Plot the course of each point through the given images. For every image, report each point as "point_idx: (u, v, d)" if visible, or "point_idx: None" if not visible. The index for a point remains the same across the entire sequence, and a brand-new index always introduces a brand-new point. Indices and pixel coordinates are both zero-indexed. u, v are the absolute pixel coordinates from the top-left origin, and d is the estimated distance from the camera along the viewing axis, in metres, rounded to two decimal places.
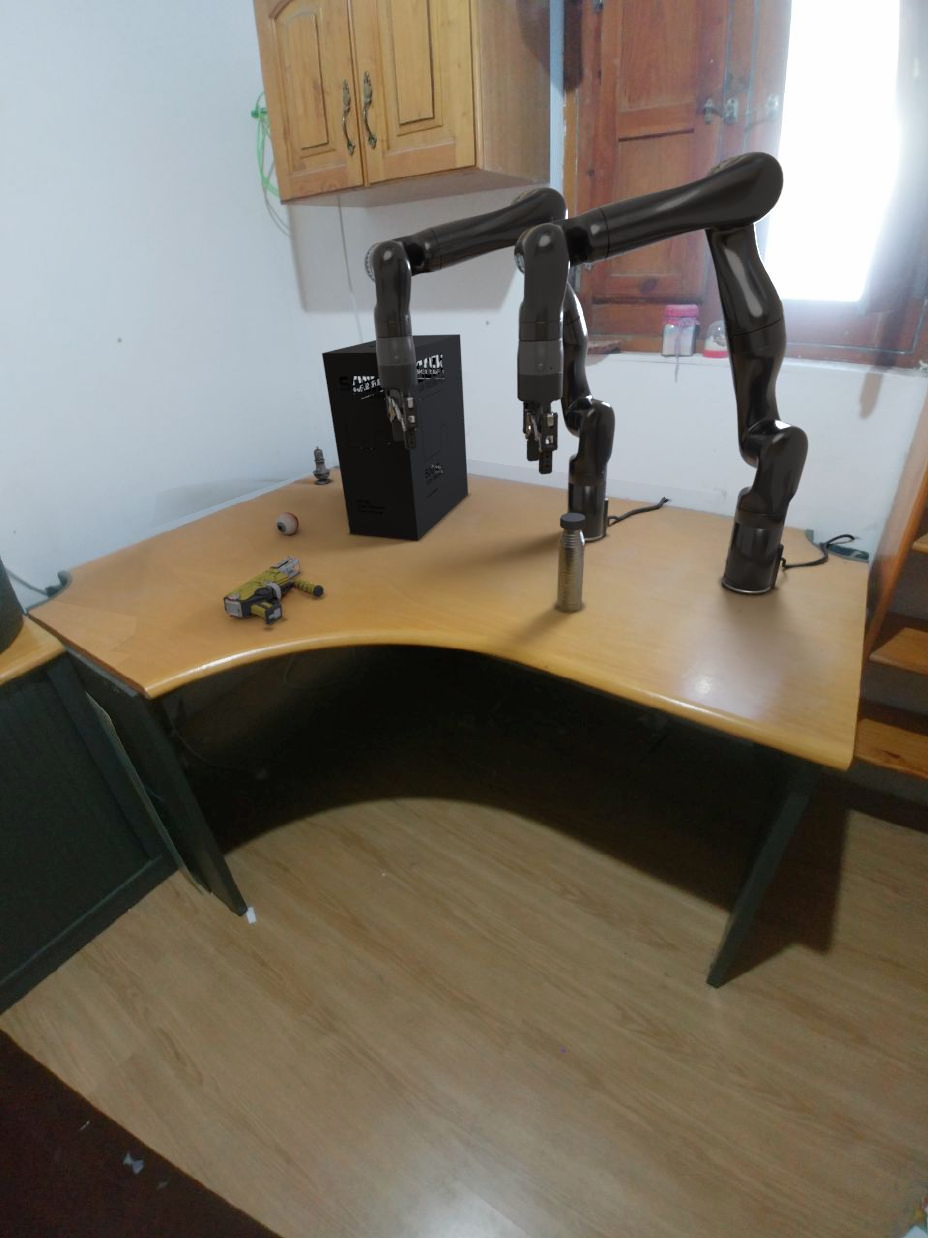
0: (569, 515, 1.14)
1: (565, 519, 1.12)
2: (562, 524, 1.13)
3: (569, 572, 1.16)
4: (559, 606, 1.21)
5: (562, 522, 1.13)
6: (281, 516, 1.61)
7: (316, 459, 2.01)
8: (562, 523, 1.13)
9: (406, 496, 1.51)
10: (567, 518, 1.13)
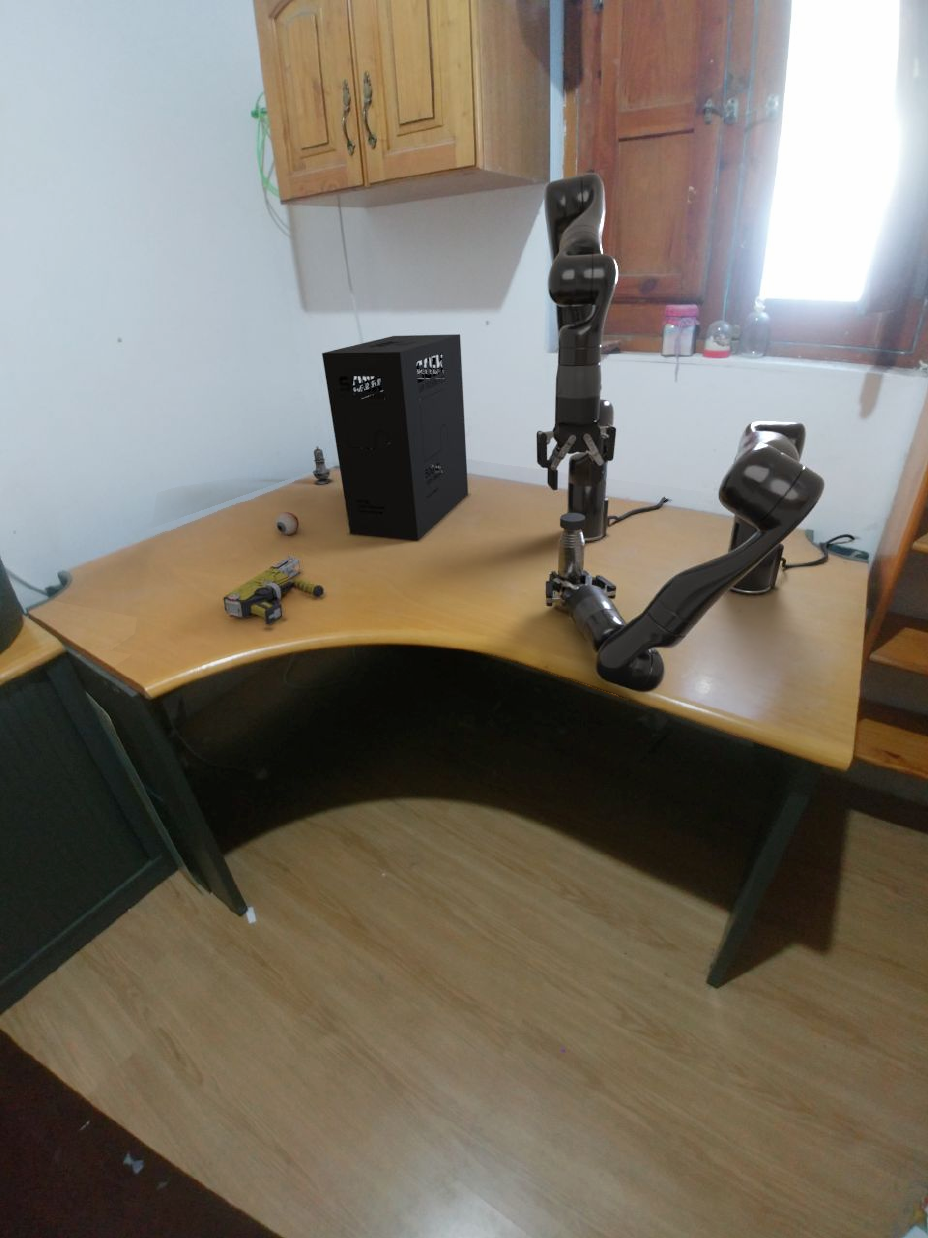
0: (569, 515, 1.14)
1: (565, 519, 1.12)
2: (562, 524, 1.13)
3: (569, 572, 1.16)
4: (559, 606, 1.21)
5: (562, 522, 1.13)
6: (281, 516, 1.61)
7: (316, 459, 2.01)
8: (562, 523, 1.13)
9: (406, 496, 1.51)
10: (567, 518, 1.13)
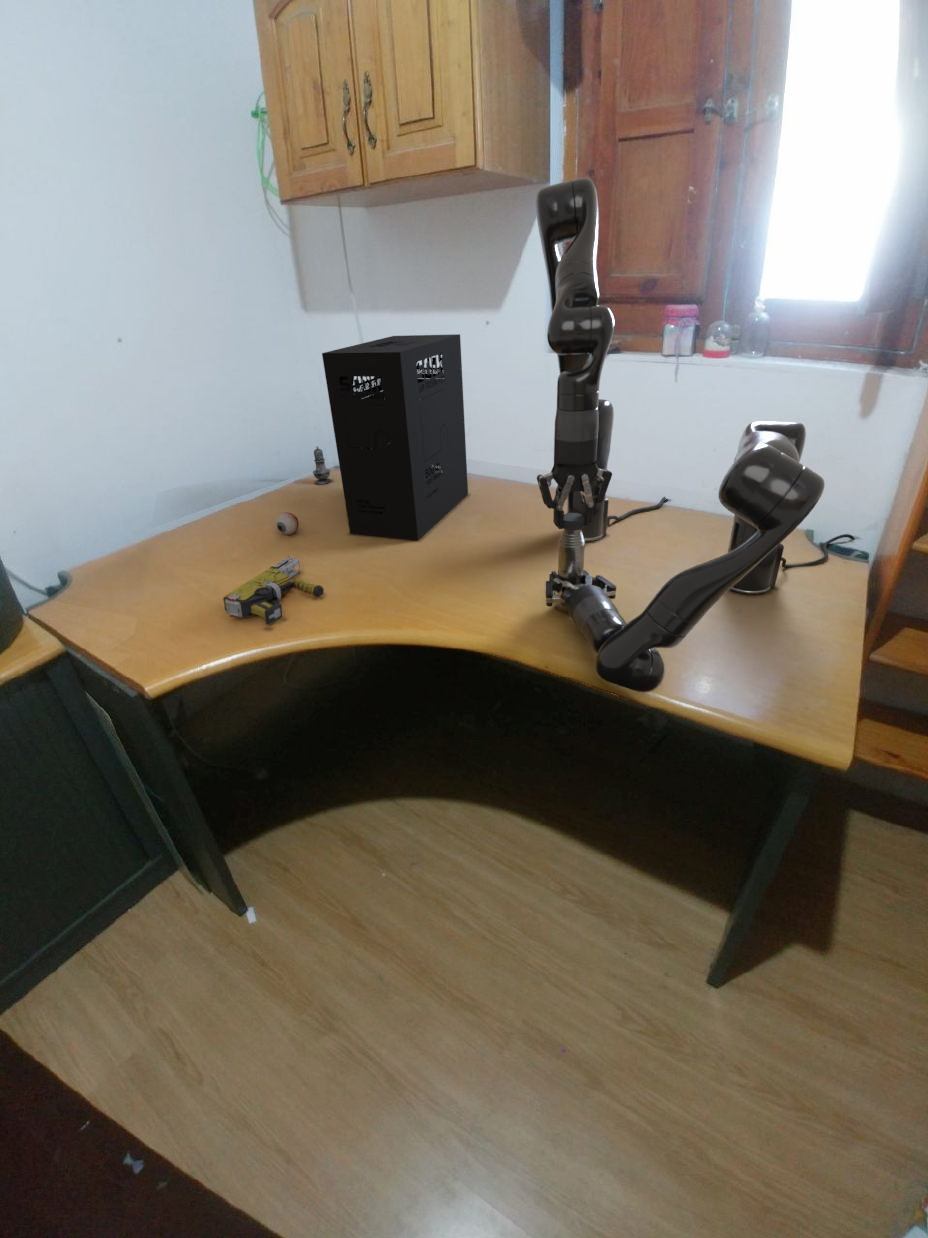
0: (569, 515, 1.14)
1: (565, 519, 1.12)
2: None
3: (569, 572, 1.16)
4: (559, 606, 1.21)
5: None
6: (281, 516, 1.61)
7: (316, 459, 2.01)
8: None
9: (406, 496, 1.51)
10: (567, 518, 1.13)
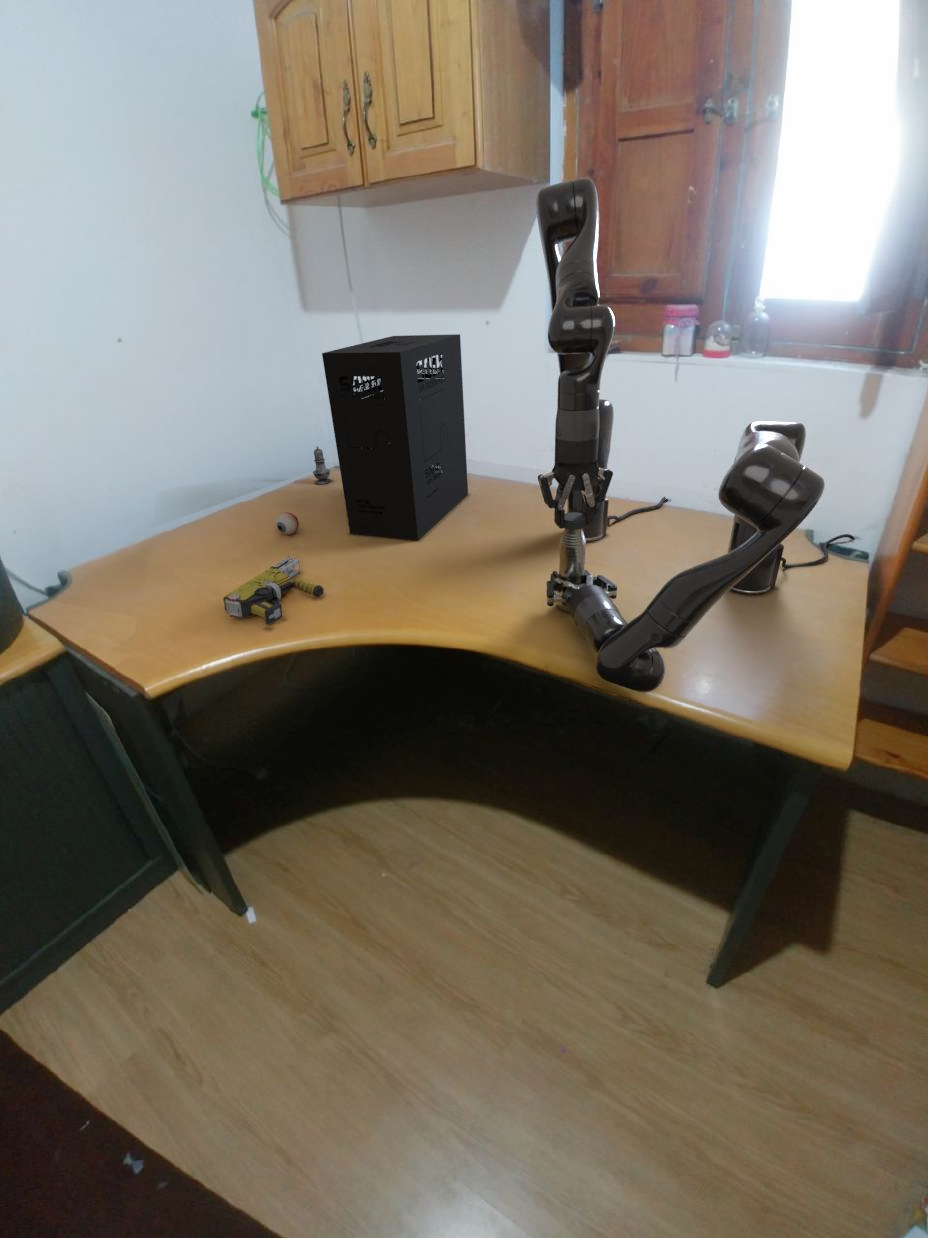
0: (569, 518, 1.13)
1: (581, 518, 1.12)
2: (582, 524, 1.12)
3: (570, 572, 1.16)
4: (560, 606, 1.21)
5: (582, 522, 1.12)
6: (281, 516, 1.61)
7: (316, 459, 2.01)
8: (582, 523, 1.12)
9: (406, 496, 1.51)
10: (578, 518, 1.12)
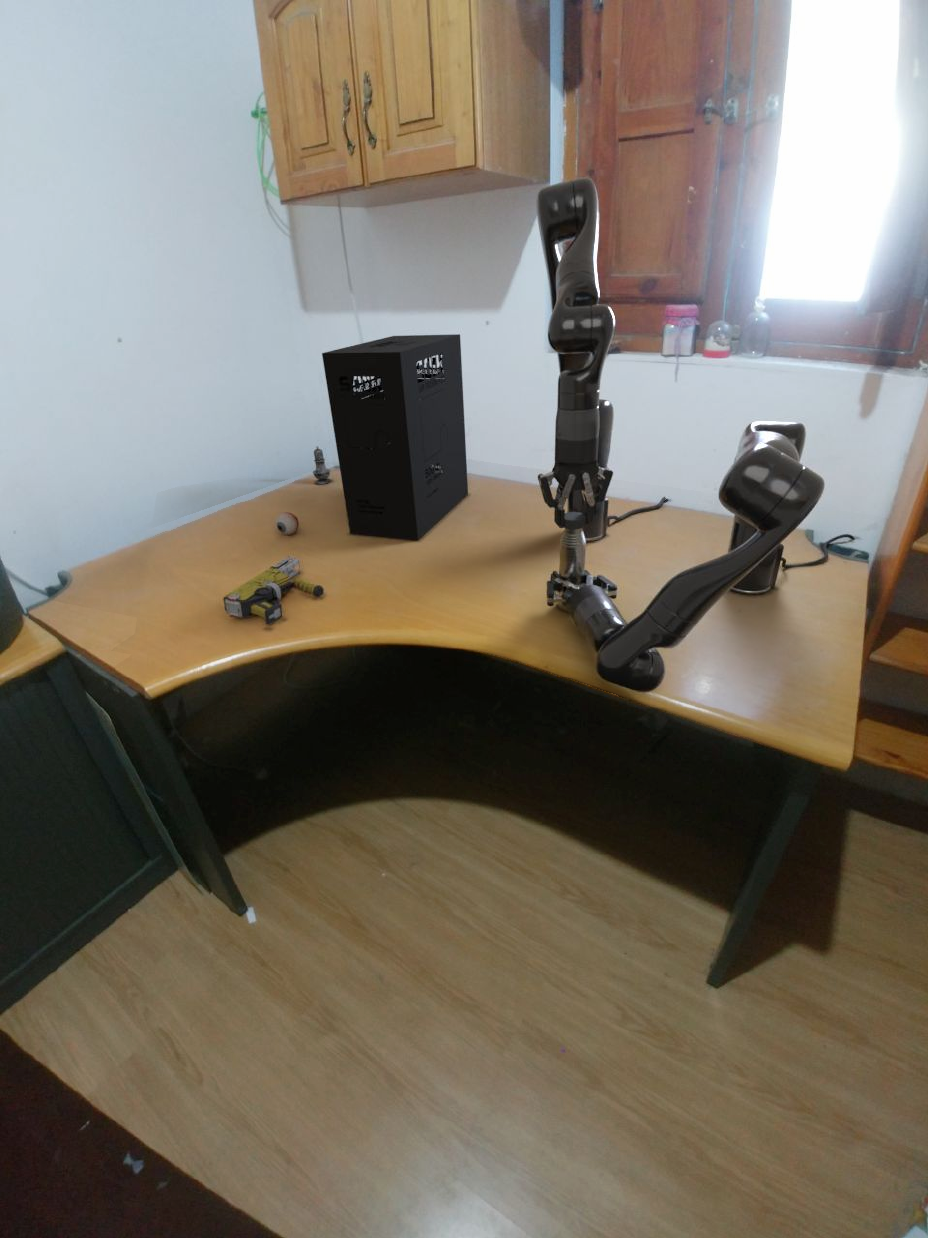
0: (578, 517, 1.12)
1: (578, 513, 1.14)
2: None
3: (570, 572, 1.16)
4: (560, 606, 1.21)
5: None
6: (281, 516, 1.61)
7: (316, 459, 2.01)
8: None
9: (406, 496, 1.51)
10: (577, 514, 1.14)
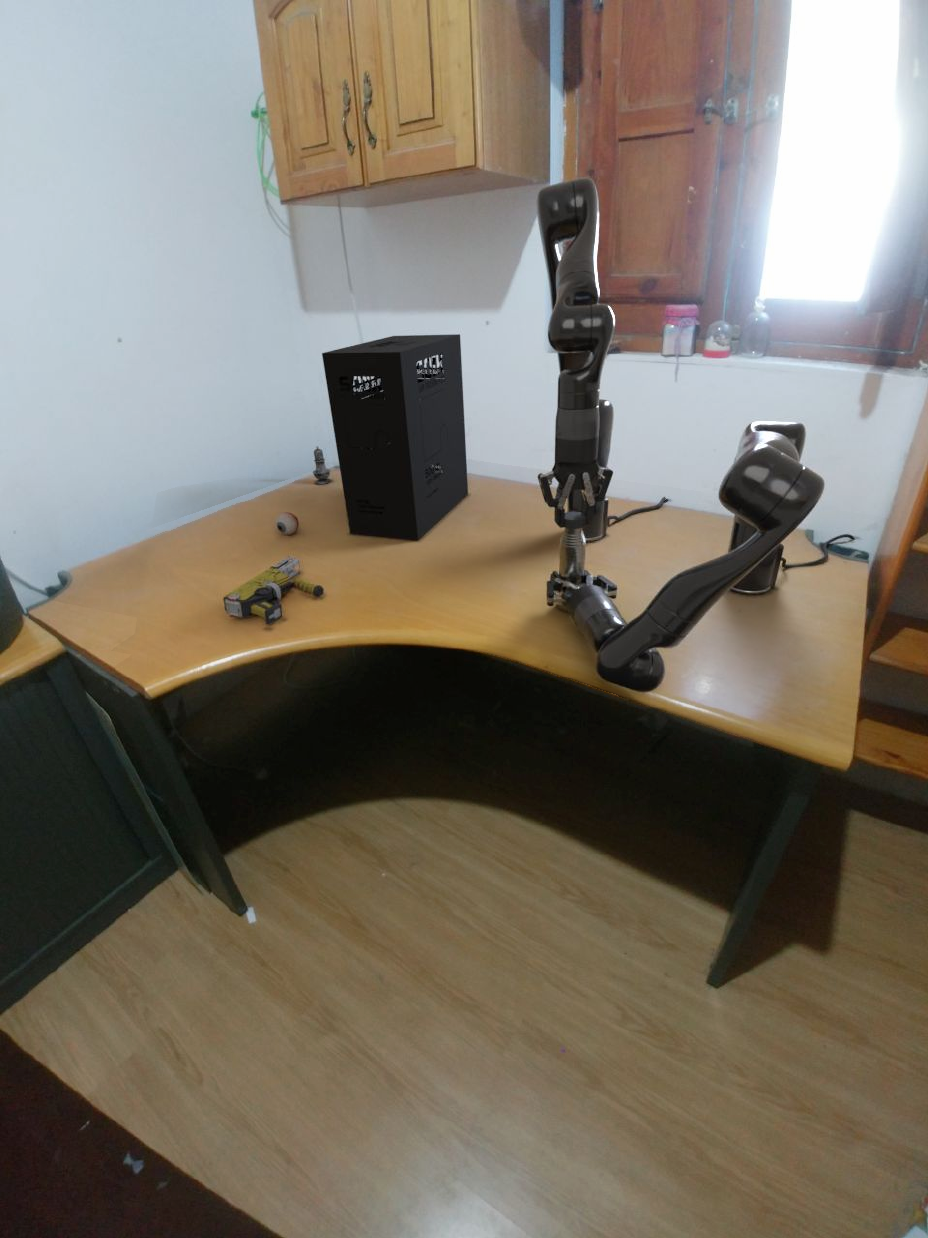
0: (576, 513, 1.14)
1: None
2: None
3: (570, 572, 1.16)
4: (560, 606, 1.21)
5: None
6: (281, 516, 1.61)
7: (316, 459, 2.01)
8: None
9: (406, 496, 1.51)
10: (567, 514, 1.14)
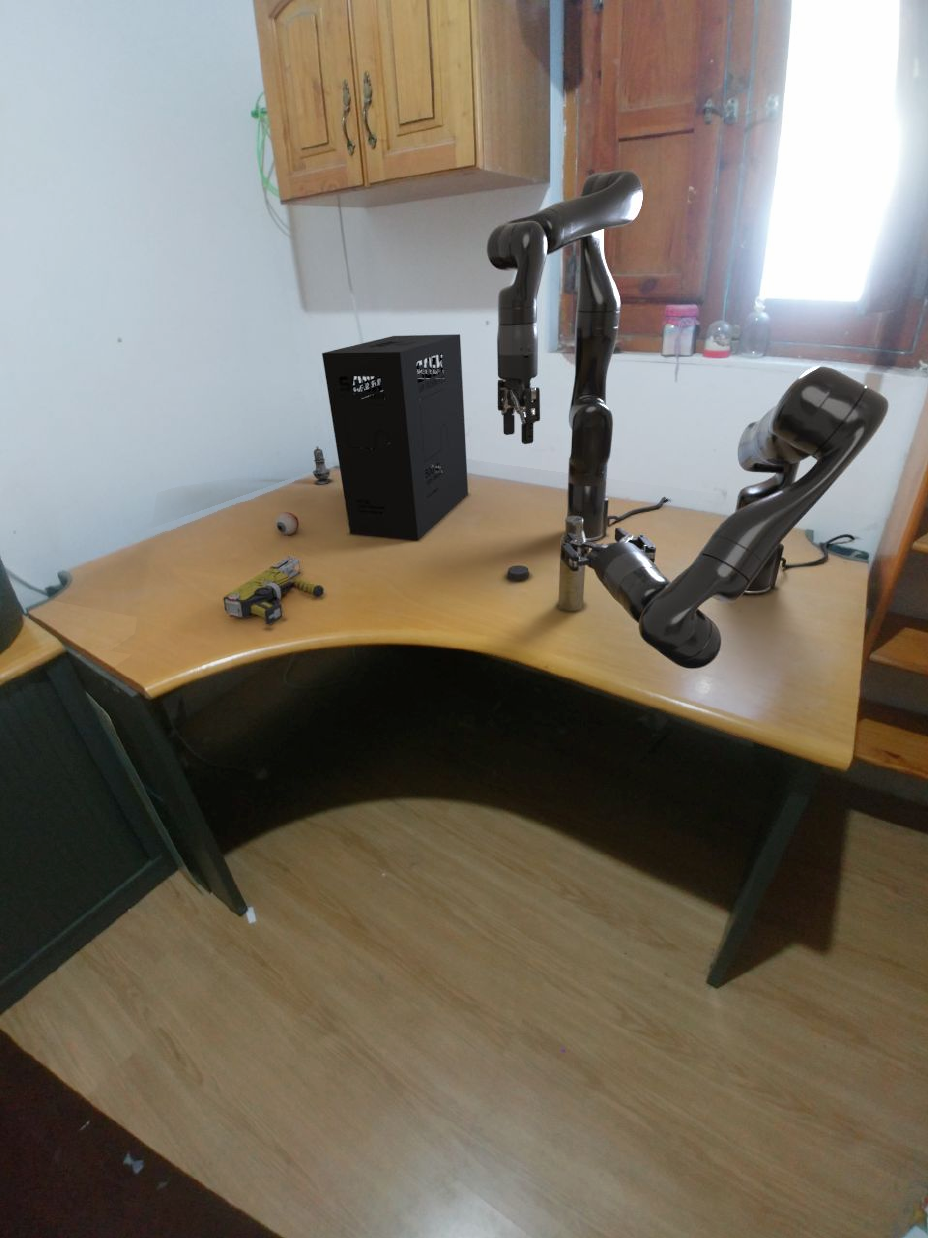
0: (517, 571, 1.34)
1: (526, 569, 1.34)
2: (528, 573, 1.35)
3: (571, 572, 1.16)
4: (560, 605, 1.21)
5: (528, 572, 1.34)
6: (281, 516, 1.61)
7: (316, 459, 2.01)
8: (528, 573, 1.35)
9: (406, 496, 1.51)
10: (523, 569, 1.34)
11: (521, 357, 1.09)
